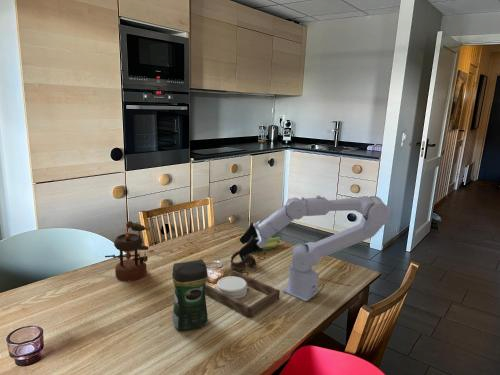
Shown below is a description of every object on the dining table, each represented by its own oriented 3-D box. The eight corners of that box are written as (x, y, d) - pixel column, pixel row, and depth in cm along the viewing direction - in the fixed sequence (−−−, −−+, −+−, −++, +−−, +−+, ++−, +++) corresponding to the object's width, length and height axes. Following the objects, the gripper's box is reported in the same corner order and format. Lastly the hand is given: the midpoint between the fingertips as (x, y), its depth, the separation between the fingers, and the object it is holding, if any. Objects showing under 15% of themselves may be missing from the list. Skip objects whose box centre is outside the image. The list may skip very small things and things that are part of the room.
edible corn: (241, 241, 153) (247, 242, 149) (279, 235, 164) (285, 235, 160) (242, 253, 153) (248, 254, 149) (280, 246, 164) (286, 247, 160)
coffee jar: (201, 311, 109) (202, 254, 104) (210, 326, 102) (211, 266, 97) (169, 318, 105) (169, 259, 100) (176, 334, 98) (176, 271, 93)
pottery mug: (260, 275, 134) (251, 260, 130) (236, 284, 135) (227, 269, 131) (256, 254, 145) (248, 239, 141) (234, 263, 146) (226, 248, 142)
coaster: (219, 301, 115) (220, 291, 114) (214, 286, 124) (214, 276, 123) (250, 298, 118) (250, 288, 117) (242, 283, 127) (243, 274, 126)
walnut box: (279, 298, 118) (279, 290, 117) (249, 318, 107) (250, 309, 106) (233, 277, 130) (234, 270, 129) (202, 293, 119) (203, 285, 118)
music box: (148, 264, 137) (148, 215, 131) (153, 280, 128) (153, 228, 121) (105, 270, 131) (102, 219, 125) (106, 287, 121) (104, 232, 115)
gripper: (264, 206, 124) (233, 229, 127) (266, 226, 111) (232, 251, 114) (276, 220, 126) (246, 242, 129) (280, 241, 113) (247, 265, 116)
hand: (241, 247), depth 121 cm, fingers open, 7 cm apart
